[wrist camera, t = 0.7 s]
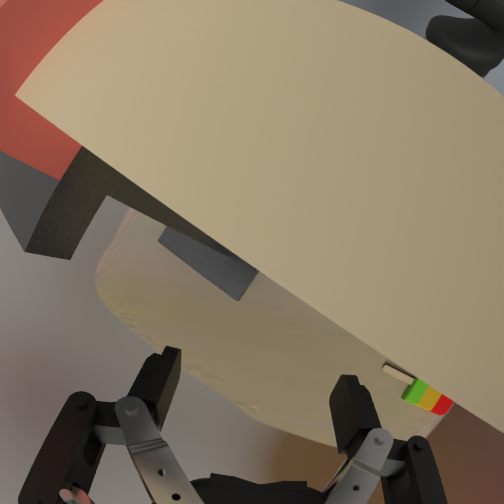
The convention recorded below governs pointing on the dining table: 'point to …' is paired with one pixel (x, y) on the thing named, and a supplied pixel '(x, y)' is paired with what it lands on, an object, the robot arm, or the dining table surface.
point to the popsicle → (421, 393)
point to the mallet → (291, 156)
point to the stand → (85, 207)
